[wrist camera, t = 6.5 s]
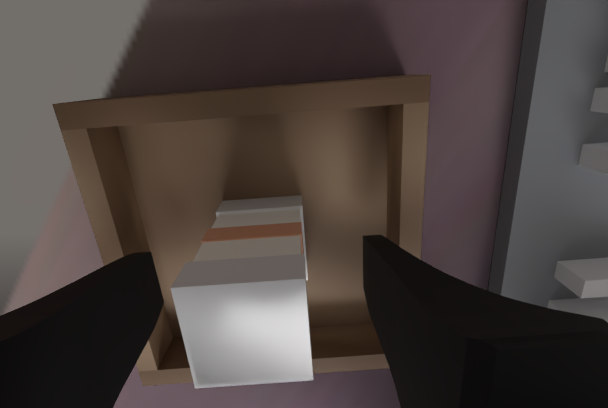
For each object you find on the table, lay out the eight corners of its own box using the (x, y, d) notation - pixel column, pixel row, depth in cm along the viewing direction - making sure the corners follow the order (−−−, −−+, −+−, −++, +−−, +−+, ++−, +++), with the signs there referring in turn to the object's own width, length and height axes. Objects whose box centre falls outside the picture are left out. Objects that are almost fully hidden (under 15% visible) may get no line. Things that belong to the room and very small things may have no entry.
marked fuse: (307, 264, 15) (313, 380, 9) (233, 269, 15) (195, 388, 9) (302, 195, 14) (305, 278, 8) (222, 200, 14) (170, 288, 8)
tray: (398, 325, 17) (414, 366, 14) (164, 342, 17) (143, 385, 15) (406, 74, 13) (430, 74, 10) (97, 98, 13) (52, 104, 10)
